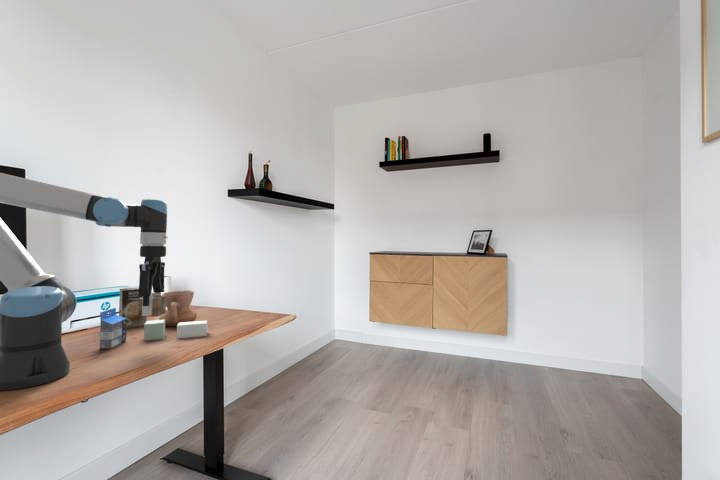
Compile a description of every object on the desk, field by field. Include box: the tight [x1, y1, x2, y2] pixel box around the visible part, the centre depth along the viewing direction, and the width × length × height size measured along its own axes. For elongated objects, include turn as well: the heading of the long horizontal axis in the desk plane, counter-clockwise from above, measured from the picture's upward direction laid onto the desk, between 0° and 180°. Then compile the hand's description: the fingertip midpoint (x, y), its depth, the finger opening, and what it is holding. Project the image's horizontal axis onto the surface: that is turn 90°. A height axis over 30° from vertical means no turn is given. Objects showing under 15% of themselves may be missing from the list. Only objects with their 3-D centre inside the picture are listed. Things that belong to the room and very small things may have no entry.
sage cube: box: [143, 319, 166, 341], centre depth 125 cm, size 6×6×6 cm
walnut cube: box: [138, 295, 167, 318], centre depth 112 cm, size 6×6×6 cm
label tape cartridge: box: [99, 307, 127, 350], centre depth 116 cm, size 9×4×12 cm, turn 7°
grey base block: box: [176, 320, 208, 339], centre depth 128 cm, size 5×10×5 cm, turn 111°
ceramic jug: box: [158, 289, 198, 327], centre depth 145 cm, size 18×14×14 cm
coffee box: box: [118, 287, 148, 329], centre depth 142 cm, size 9×6×16 cm
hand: (151, 313), depth 112 cm, fingers closed on walnut cube, 6 cm apart
